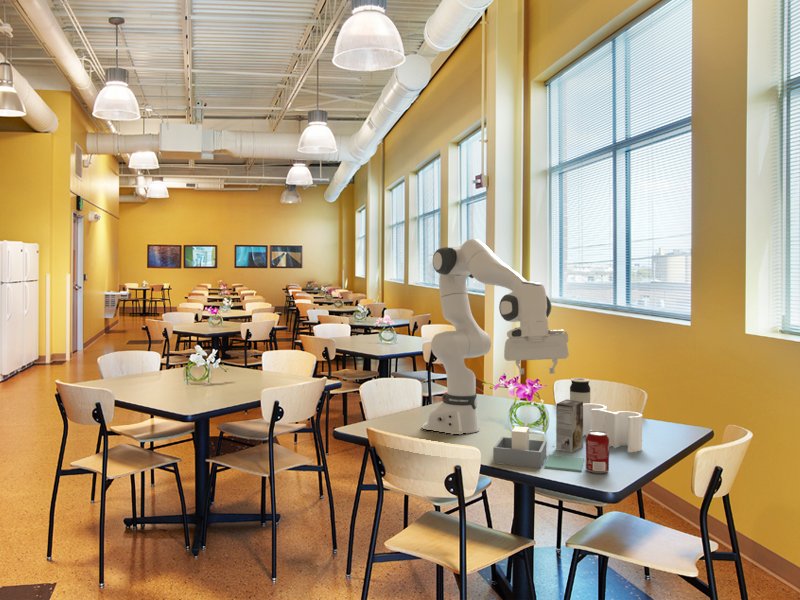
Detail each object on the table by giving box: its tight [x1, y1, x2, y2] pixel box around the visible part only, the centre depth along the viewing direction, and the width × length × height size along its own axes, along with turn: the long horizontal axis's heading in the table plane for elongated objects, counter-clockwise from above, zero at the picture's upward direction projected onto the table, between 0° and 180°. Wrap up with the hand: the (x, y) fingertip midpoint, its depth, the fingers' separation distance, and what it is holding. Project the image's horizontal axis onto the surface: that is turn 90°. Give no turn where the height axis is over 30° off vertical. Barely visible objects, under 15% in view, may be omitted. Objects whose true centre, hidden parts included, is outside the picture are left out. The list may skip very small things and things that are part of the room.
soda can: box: [585, 430, 610, 475], centre depth 181 cm, size 7×7×12 cm
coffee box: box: [555, 399, 584, 453], centre depth 206 cm, size 9×6×16 cm
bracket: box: [583, 402, 643, 453], centre depth 213 cm, size 25×10×12 cm, turn 33°
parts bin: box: [492, 436, 547, 469], centre depth 194 cm, size 15×14×5 cm
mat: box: [544, 454, 585, 473], centre depth 189 cm, size 11×13×1 cm
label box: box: [511, 425, 530, 450], centre depth 193 cm, size 5×7×10 cm, turn 159°
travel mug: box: [569, 377, 591, 404], centre depth 242 cm, size 8×8×18 cm
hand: (537, 373), depth 190 cm, fingers open, 8 cm apart
